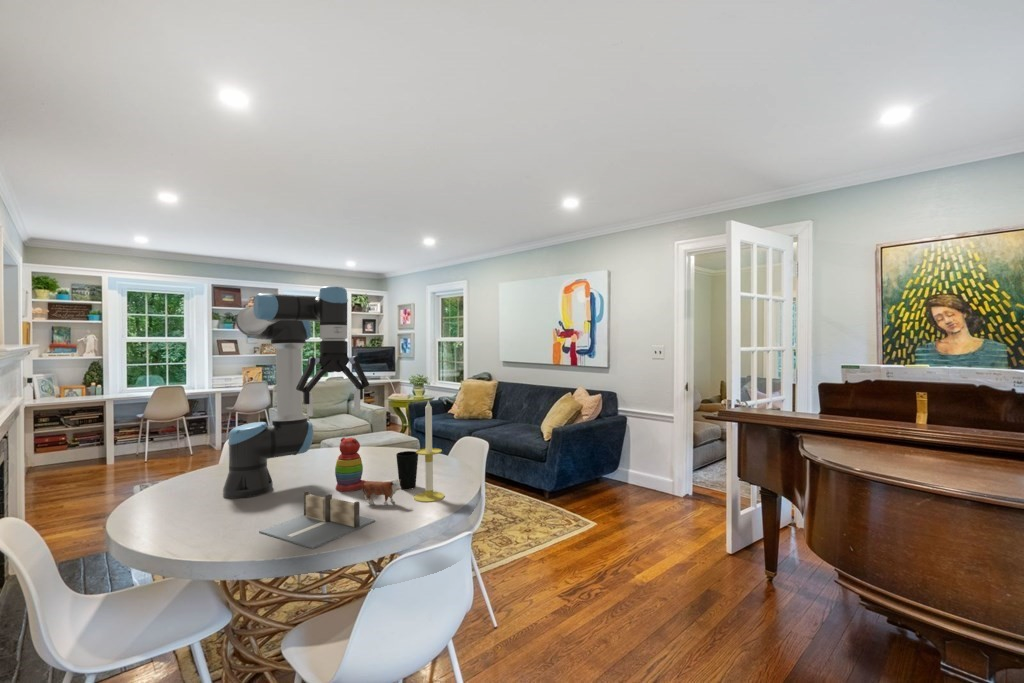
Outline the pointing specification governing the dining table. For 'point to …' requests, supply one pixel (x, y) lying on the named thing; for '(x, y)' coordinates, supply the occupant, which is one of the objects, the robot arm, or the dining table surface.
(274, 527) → the card
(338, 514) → the fence hinged
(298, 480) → the dining table surface
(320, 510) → the fence fixed
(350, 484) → the stacking bear
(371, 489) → the bull figurine
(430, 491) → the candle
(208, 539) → the dining table surface
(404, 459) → the cup
